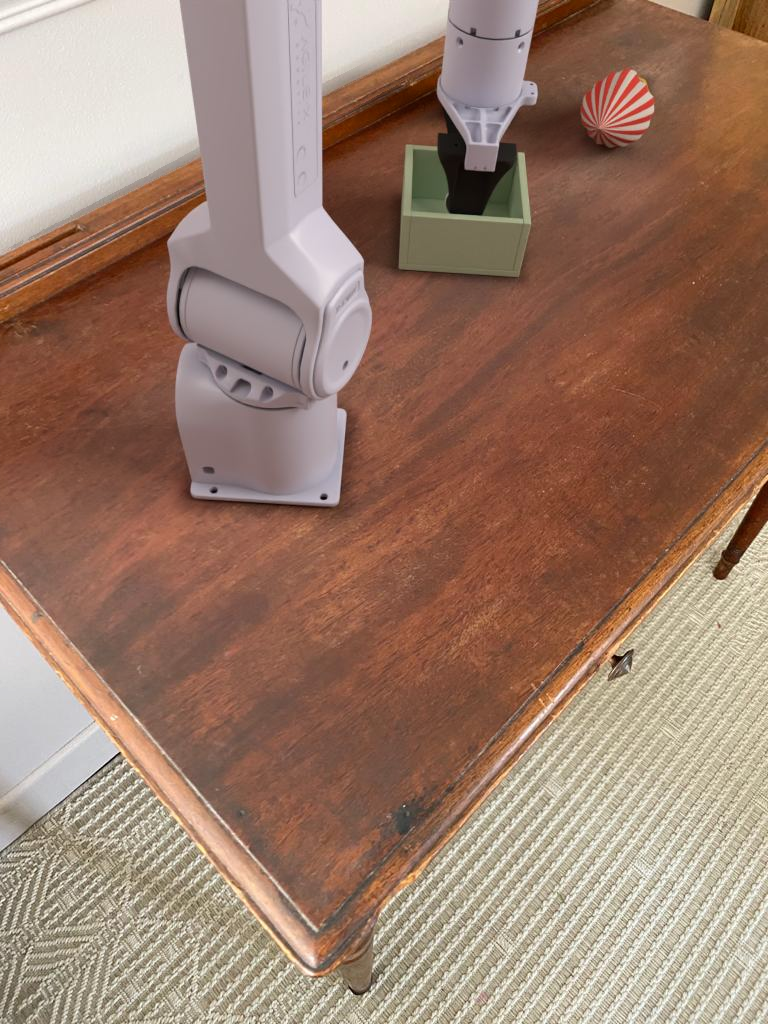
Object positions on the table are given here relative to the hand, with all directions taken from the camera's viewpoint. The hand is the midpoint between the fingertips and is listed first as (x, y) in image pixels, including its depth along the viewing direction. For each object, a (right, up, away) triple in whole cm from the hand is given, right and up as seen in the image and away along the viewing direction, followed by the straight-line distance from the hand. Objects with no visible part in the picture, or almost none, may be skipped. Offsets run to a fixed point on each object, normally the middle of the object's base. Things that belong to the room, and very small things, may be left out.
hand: (463, 199), depth 64 cm
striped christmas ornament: (+16, +12, +13) cm, 24 cm away
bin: (0, -2, +3) cm, 4 cm away
